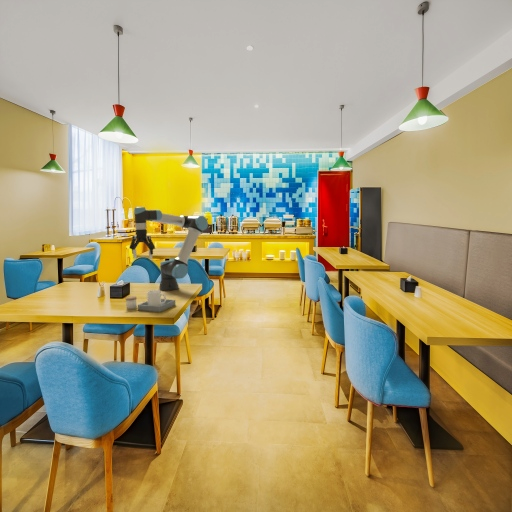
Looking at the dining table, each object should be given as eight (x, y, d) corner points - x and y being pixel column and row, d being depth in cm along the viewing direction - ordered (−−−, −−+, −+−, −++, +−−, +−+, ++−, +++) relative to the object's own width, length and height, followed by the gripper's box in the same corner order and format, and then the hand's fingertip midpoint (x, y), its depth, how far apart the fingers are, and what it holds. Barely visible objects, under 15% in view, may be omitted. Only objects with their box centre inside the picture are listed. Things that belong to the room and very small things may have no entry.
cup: (151, 304, 212) (150, 289, 211) (168, 305, 211) (168, 290, 209) (145, 308, 204) (144, 292, 203) (163, 308, 202) (163, 293, 201)
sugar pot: (130, 306, 212) (130, 296, 211) (139, 306, 210) (138, 296, 209) (123, 308, 206) (123, 298, 205) (132, 309, 204) (131, 299, 203)
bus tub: (154, 303, 218) (154, 298, 217) (175, 305, 213) (175, 300, 212) (138, 310, 202) (137, 304, 202) (160, 312, 197) (160, 306, 197)
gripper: (122, 229, 227) (125, 259, 230) (152, 229, 219) (154, 260, 222) (130, 228, 234) (132, 257, 237) (159, 228, 226) (160, 258, 229)
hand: (142, 258), depth 229 cm, fingers open, 13 cm apart
